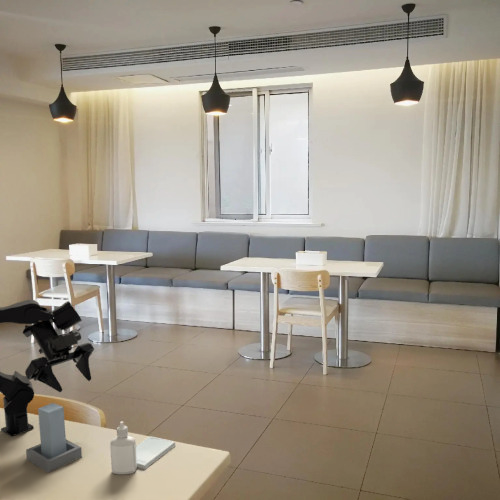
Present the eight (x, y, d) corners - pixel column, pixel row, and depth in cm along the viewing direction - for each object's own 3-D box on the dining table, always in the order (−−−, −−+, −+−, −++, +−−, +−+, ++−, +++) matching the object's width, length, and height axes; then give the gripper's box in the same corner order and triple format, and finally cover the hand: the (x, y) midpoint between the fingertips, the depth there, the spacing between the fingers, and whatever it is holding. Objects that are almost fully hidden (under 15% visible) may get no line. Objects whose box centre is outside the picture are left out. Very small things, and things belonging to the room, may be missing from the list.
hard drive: (149, 435, 137) (117, 457, 126) (175, 441, 133) (144, 464, 122) (149, 441, 137) (117, 463, 126) (175, 447, 133) (144, 471, 122)
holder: (26, 459, 128) (25, 449, 128) (60, 444, 135) (59, 435, 135) (47, 472, 122) (46, 462, 122) (81, 456, 129) (81, 447, 129)
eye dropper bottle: (127, 478, 119) (124, 428, 117) (108, 472, 121) (105, 423, 120) (140, 469, 122) (137, 420, 121) (122, 463, 125) (119, 416, 124)
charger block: (42, 459, 128) (38, 408, 127) (56, 452, 132) (52, 402, 130) (52, 464, 126) (48, 412, 124) (67, 457, 129) (63, 406, 128)
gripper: (27, 330, 133) (57, 380, 128) (87, 314, 148) (116, 358, 143) (13, 355, 139) (40, 403, 134) (72, 337, 154) (99, 380, 149)
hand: (76, 385), depth 140 cm, fingers open, 9 cm apart
